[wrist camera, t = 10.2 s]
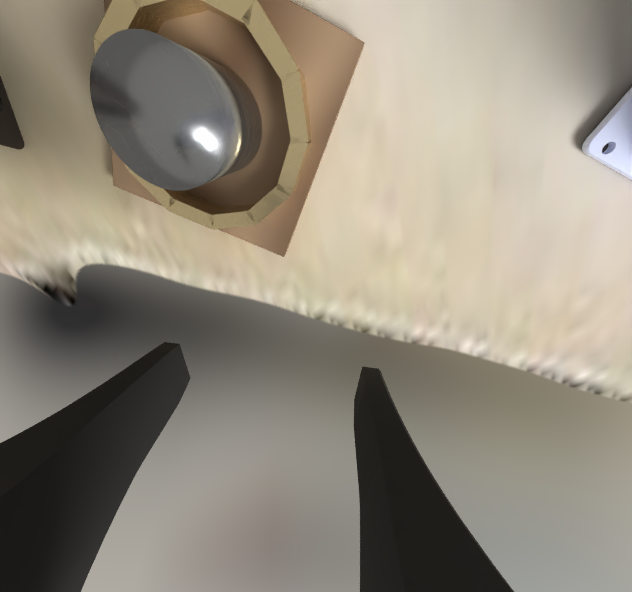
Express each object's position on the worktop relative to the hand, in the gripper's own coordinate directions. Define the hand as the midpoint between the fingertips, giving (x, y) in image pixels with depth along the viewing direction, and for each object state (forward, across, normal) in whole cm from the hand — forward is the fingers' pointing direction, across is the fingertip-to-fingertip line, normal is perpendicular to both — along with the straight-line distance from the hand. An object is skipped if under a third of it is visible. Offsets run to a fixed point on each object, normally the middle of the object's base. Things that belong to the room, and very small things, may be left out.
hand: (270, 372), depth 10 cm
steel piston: (+9, +5, -8) cm, 13 cm away
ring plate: (+9, +5, -8) cm, 13 cm away
